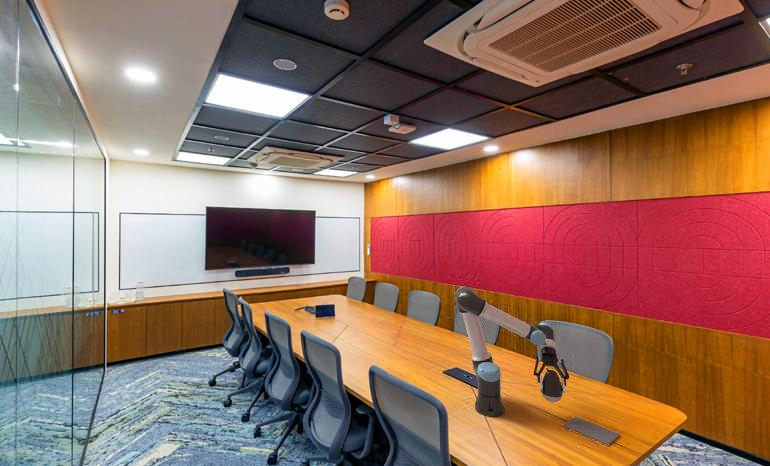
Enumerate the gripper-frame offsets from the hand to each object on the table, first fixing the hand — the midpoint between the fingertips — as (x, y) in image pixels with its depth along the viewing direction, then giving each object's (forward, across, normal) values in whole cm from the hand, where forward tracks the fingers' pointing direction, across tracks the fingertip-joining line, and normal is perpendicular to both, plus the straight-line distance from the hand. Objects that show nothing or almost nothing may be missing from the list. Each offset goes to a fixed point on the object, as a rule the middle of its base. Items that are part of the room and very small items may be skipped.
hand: (552, 390), depth 177 cm
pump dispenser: (+2, 0, -7) cm, 7 cm away
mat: (+14, -16, -7) cm, 22 cm away
